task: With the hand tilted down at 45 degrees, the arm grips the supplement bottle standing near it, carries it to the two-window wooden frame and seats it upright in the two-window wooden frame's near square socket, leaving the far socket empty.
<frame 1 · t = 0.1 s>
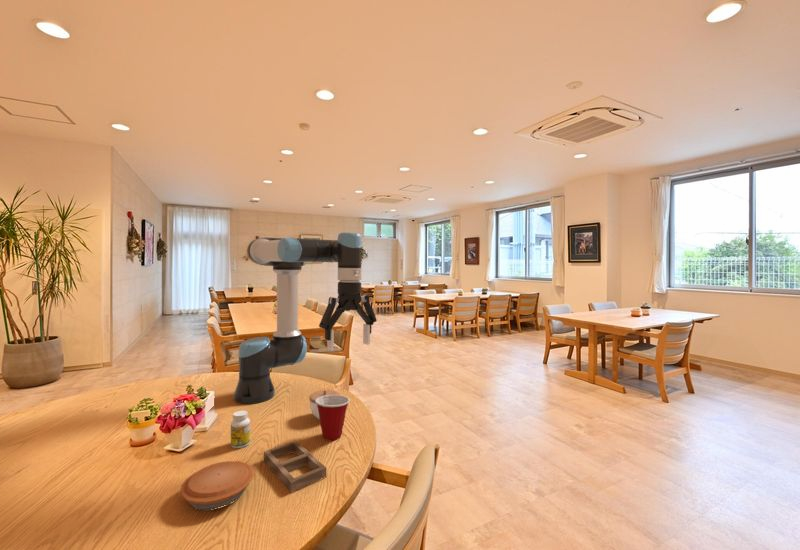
hand: (349, 347, 114), 28 cm above the table, tool pointing down, fingers open, 13 cm apart
two-window wooden frame: (293, 468, 95), on the table
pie: (218, 495, 84), on the table
plastic cup: (332, 436, 113), on the table
lidded jar: (324, 416, 127), on the table
supplement bottle: (240, 444, 107), on the table
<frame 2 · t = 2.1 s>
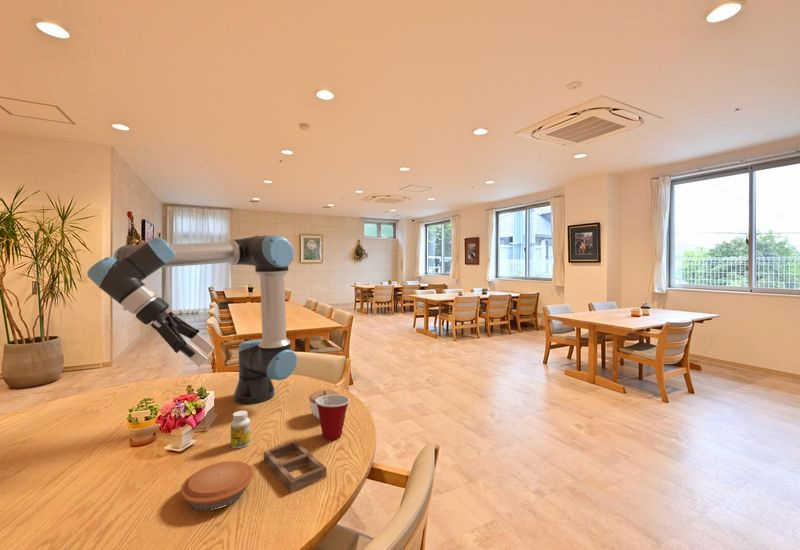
hand: (207, 356, 103), 27 cm above the table, tool tilted 45°, fingers open, 13 cm apart
nothing on the table moved.
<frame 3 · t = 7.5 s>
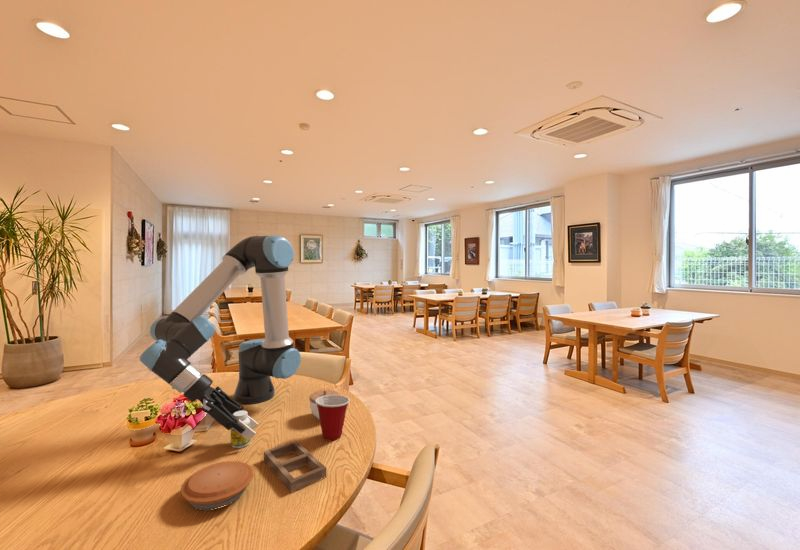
hand: (253, 431, 108), 3 cm above the table, tool tilted 45°, fingers closed on supplement bottle, 5 cm apart
supplement bottle: (240, 444, 107), on the table, touching gripper
everything else where it was.
when the fingers open (5 cm above the table, at t = 12.6 s): supplement bottle drops 2 cm, resting in two-window wooden frame.
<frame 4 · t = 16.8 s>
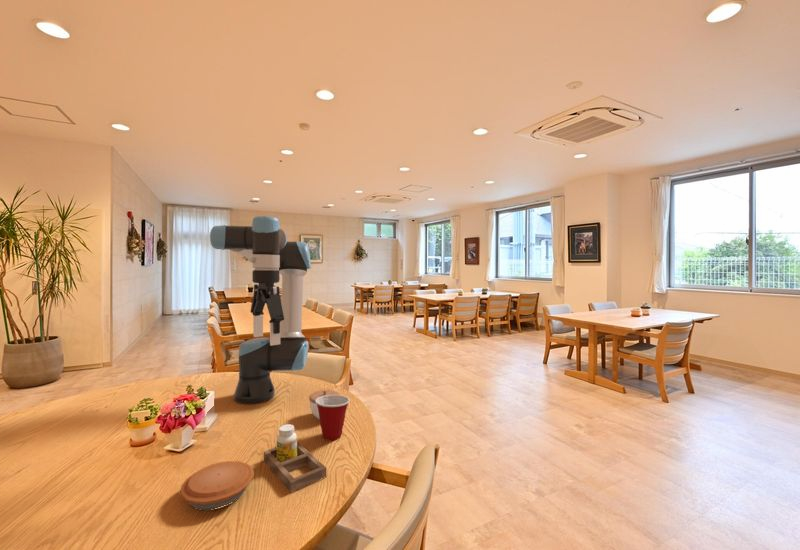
hand: (266, 340, 106), 32 cm above the table, tool pointing down, fingers open, 13 cm apart
supplement bottle: (286, 462, 98), resting in two-window wooden frame
everything else where it was.
at the end: supplement bottle 0.2 cm from the target spot on the two-window wooden frame, point 0.0 cm above the two-window wooden frame's base; supplement bottle touching table; supplement bottle tilted 0° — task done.
